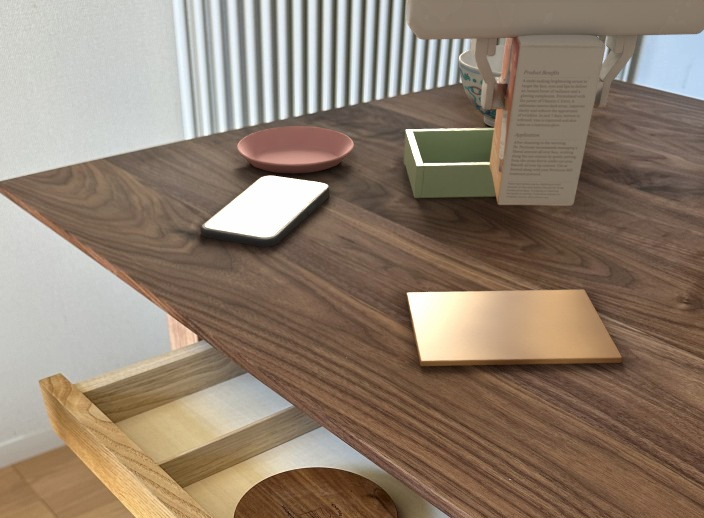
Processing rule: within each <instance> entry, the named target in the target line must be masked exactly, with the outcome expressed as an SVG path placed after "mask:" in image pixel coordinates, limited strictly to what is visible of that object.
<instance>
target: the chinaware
mask: <svg viewBox="0 0 704 518" xmlns="http://www.w3.org/2000/svg"><path fill="white" fill-rule="evenodd" d="M504 50H505V44H497V46H496V53H495V55H494V56H488V55H487V56H486V57H487V60H488V62H489V65H490V67H491V70H492V72H493V75H494V77H501V73H502V65H503V58H504ZM458 68H459V75H460V81H461V84H462V87H463V88H462V89H463V90H464V93H465V95H466V97H467V98H468V100H469V101H470V103H471V104H472V106H473V107H474V108H475V109H476V110H477V112H479V113H480V114H482V115H483V122H484V124H485V125H487V126H489V127H490V128H494V126H495V118H496V111H497V109H491V110H483V108H482V106H481V91H482V82H483V78H482V77H481V74H480V72H479V70H478V67H477V65H476V62H475V60H474V58H473V55H472V53H471V50H470V49H468V50H466V51H464V52H462V53H461V54H460V55H459V57H458Z"/></svg>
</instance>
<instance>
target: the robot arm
mask: <svg viewBox="0 0 704 518" xmlns="http://www.w3.org/2000/svg"><path fill="white" fill-rule="evenodd" d="M404 14H405V15H404V16H405V21H406V24H407V26H408V28H409V29H410V30H411V32H412V33H413V34H414V35H415V37H416V38H417V39H419V40H422V41H423V40H426V41H427V40H429V41H430V40H431V41H433V40H470V47H469V50H471V53H472V55H473V58H474V60H475V62H476V65H477V67H478V70H479V72H480V74H481V77H482V78H483V82H482V91H481V106H482V108H483V110H491V109H504V107H505V98H504V97H505V95H506V91H507V81H505V78H504V77H494V75H493V72H492V70H491V67H490V65H489V62H488V60H487V57H486V56H487V55H488V56H494V55H495V53H496V46H497V45H498V39H506V38H517V37H518V36H526V35H594V36H597V37H606V40H605V47H606V48H608V49H609V50H610V51H609V53H608V54H607V56H606V57H605V59H603V62H602V67H601V72H600V77H599V82H598V87H597V92H596V97H595V102H594V106H593V109H594V108H597V109H598V108H605V107H606V106H607V103H608V101H609V94H610V89H611V85H612V82H614V81H615V79H616V78H617V77H618V75H619V74H620V73H621V71H622V70H623V69H624V67H625V66H626V65H627V63H628V62H629V61H630V59H632V57H633V56H634V55H635V50H636V46H637V40H638V36H673V35H675V36H677V35H681V36H682V35H698V34H699V35H700V34H701V33H702V32H703V31H704V0H405V12H404Z"/></svg>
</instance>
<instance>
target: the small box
mask: <svg viewBox="0 0 704 518" xmlns="http://www.w3.org/2000/svg"><path fill="white" fill-rule="evenodd" d="M504 45H505V50H504V58H503V65H502V73H501V77H504V78H505V81H507V91H506V95H505V97H504V98H505V107H504V109H497V111H496V118H495V126H494V127H493V128H494V134H493V141H492V149H491V157H490V169H491V172H492V177H493V182H494V187H495V193H496V196H495V198H496V202H497V205H499V206H550V207H552V206H553V207H572V206H573V205H574V204H575V200H576V194H577V189H578V184H579V181H580V180H579V179H580V174H581V170H582V165H583V160H584V155H585V149H586V144H587V140H588V136H589V130H590V124H591V120H592V116H593V111H594V108H593V106H594V102H595V97H596V92H597V87H598V82H599V77H600V72H601V67H602V63H603V62H604V57H605V53H606V44H605V43H604V41H602V40H601V39H600V38H599V36H594V35H526V36H518V37H517V38H505V43H504Z"/></svg>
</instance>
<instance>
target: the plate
mask: <svg viewBox="0 0 704 518" xmlns="http://www.w3.org/2000/svg"><path fill="white" fill-rule="evenodd" d="M354 145H355V144H354V141H353V140H352V138H351V137H350V136H348V135H347V134H345V133H343V132H340V131H337V130H333V129H329V128H326V127H325V128H324V127H318V126H305V125H304V126H303V125H301V126H300V125H299V126H297V125H293V126H292V125H291V126H279V127H272V128H267V129H266V128H265V129H262V130H259V131H255V132H252V133H250V134H248V135H246V136H244V137H243V138H241V139H240V140H239V141H238V143H237V146H236V150H237V152H238V153H239V155H241V156H242V158H244V159H245V161H247V162H248V163H250V164H251V165H252V166H253V167H254V168H255V169H256V168H258V169H259V170H263V171H267V172H272V173H277V174H307V173H316V172H319V171H320V172H321V171H324V170H328V169H331V168H334V167H337V166H338V165H339V164H340V163H341V162H342V161H343V160H344V159H345V158H346V157H348V156H349V154H351V152H352V151H353V150H354V147H355V146H354Z"/></svg>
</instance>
